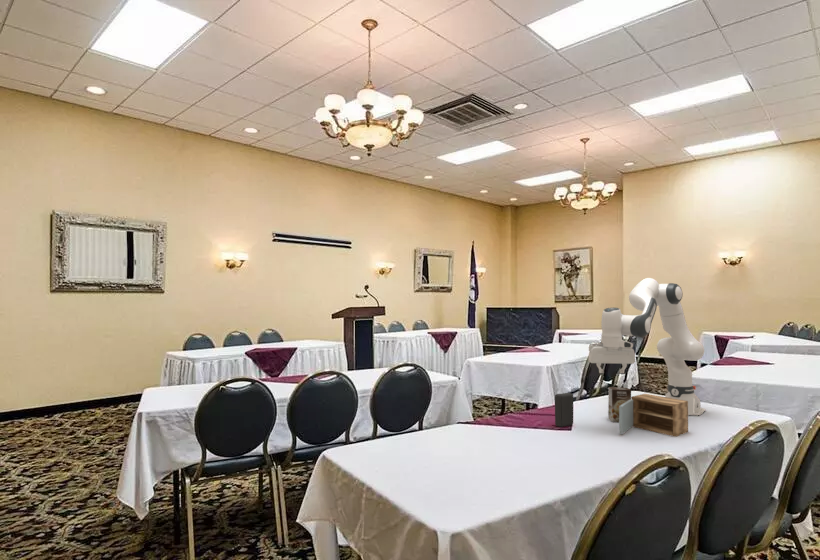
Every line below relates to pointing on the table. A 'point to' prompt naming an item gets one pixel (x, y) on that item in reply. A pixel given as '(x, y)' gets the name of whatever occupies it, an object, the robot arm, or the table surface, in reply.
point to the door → (625, 416)
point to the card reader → (563, 409)
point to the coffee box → (617, 401)
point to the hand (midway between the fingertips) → (611, 373)
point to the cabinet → (660, 414)
